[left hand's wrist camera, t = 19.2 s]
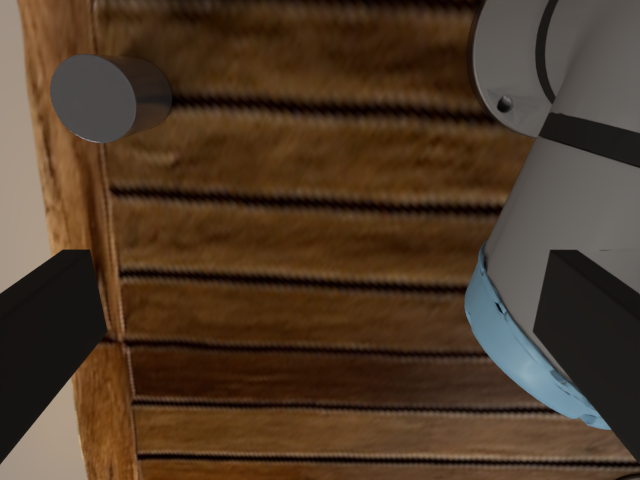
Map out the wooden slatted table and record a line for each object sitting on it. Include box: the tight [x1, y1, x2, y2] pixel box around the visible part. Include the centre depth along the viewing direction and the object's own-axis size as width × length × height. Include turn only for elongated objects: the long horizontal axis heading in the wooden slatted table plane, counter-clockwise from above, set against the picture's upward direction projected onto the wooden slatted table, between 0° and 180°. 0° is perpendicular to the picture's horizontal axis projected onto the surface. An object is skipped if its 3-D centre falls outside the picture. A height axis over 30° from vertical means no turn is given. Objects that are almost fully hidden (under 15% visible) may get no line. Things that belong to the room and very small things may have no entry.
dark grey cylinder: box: [50, 54, 172, 143], centre depth 34 cm, size 6×6×8 cm
